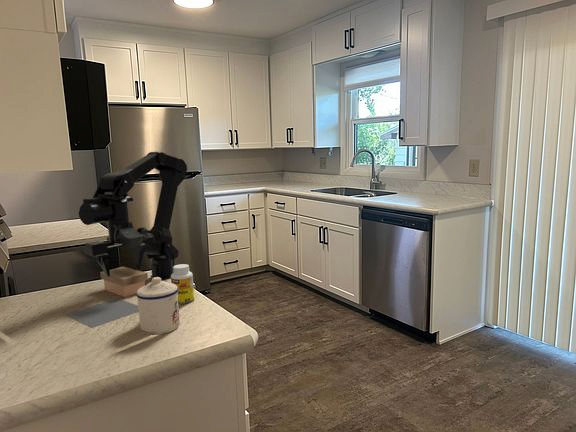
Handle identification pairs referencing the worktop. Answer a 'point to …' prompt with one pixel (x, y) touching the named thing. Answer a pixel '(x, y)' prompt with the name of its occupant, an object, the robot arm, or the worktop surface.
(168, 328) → the teacup with lid
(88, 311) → the rubber mat
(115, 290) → the peach open box
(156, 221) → the robot arm
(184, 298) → the supplement bottle
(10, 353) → the worktop surface
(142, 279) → the tan flat block
